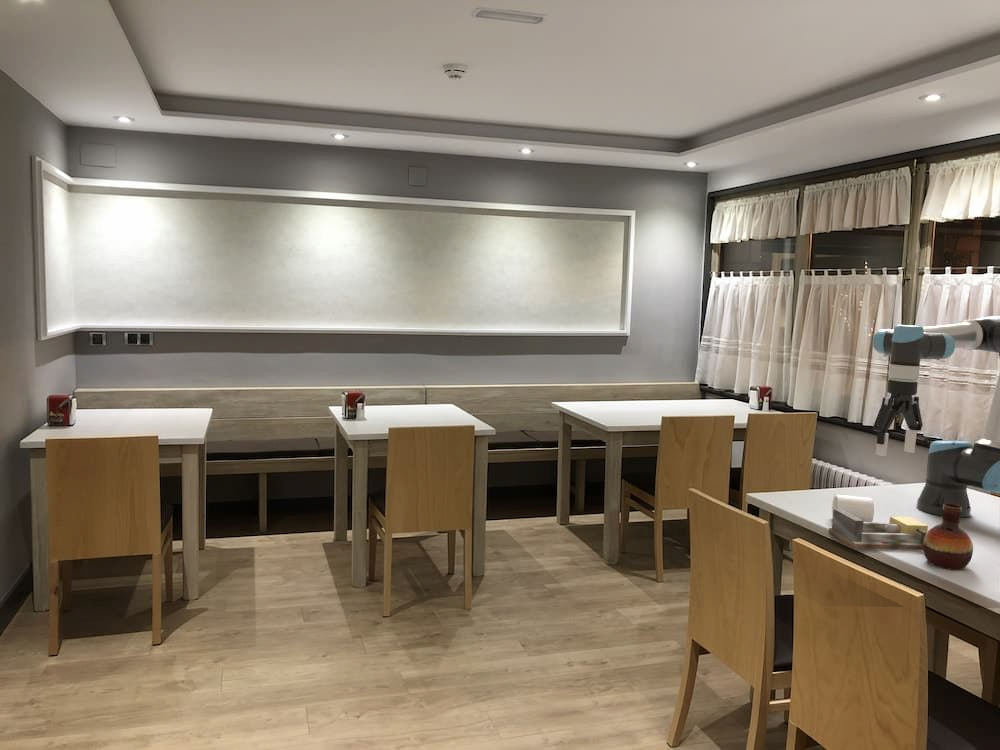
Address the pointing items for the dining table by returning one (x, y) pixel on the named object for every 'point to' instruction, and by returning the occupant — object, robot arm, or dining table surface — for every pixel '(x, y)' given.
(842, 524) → the bench
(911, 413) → the robot arm
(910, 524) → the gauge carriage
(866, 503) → the mug
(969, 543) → the vase
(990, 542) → the dining table surface
